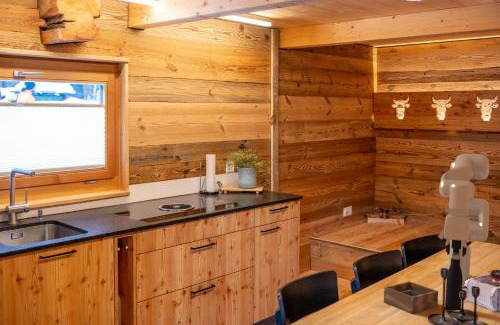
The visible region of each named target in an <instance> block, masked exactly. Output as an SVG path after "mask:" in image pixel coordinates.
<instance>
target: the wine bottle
mask: <svg viewBox="0 0 500 325" xmlns="http://www.w3.org/2000/svg"><path fill="white" fill-rule="evenodd" d="M451 248H453V254H452V258H451V265H450V267H449V266H448V269H447V270H448V271H447V273H448V276H447V275H446V279H447V280H446V283H445V302H444V310H445V309H446V311H447V310H461V311H462V300H461V299H460V297H459V292H460V290H462V291H463V288H462V282H463V276H462V270H461V267H460V254H459V249H461V241H458V240H452V245H451Z"/></svg>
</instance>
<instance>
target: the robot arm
mask: <svg viewBox="0 0 500 325" xmlns="http://www.w3.org/2000/svg"><path fill="white" fill-rule="evenodd" d="M449 166H450V167H449V168H450V169H449V170H448V171H446V172H445V173H443V174H442V176H441V177H440V182H439V188H438V191H439V194H440V195H441V196H442V197H444V198H449V200H448V208H445V210H444V212H445V213H447V214H446V216H445V219H444V220H445V221H444V227H443V230H442V231H441V232H440V233H439V234H438V235H437V237H438V238H439V239H440V240H441V241H442V243H443V244H444V245H445V253H446V255H447V256H449V262H448V268H449V267H450V265H451V258H452V254H453V248H451V245H452V240H458V241H461V249H459V254H460V267H461V270H462V276H463V282H462V289H463V288H464V284H465V281H466V280H468V279H470V278H476V277H478V278H479V276H478V275H474V276H473V274H470V273H471V272H470V270H471V258H472V257H471V256H472V255H471V253H472V249H471V246H470V245H472V244H473V243H474V242H485V241H487V239H488V236H489V224H490V204H489V202H488V201H487V200H486V199H484V198H475V197H474V195H475V194H476V187H475V185H474V183H473V182H472V181H471V180H486V179H487V178H488V176H489V174H490V161H489V158H488V156H486V155H485V154H482V153H479V154H477V153H461V154H459V155H457V156H456V158H455V160H454V161H452V162H451V163H450V165H449ZM470 219H476V220H470ZM446 280H447V278H446Z"/></svg>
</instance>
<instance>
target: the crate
mask: <svg viewBox="0 0 500 325" xmlns="http://www.w3.org/2000/svg"><path fill="white" fill-rule="evenodd" d="M383 303H384V304H386V305H388V306H391V307H394V308H396V309H399V310H400V311H402V312H403V311H404V312H405V313H409V314H411V315H414V314H417V313H421V312H424V311H427V310H428V309H429V310H432V309H436V308H438V306H439V305H438V303H439V290H435V289H433V288H430V287H427V286H425V285H421V284H418V283H416V282H412V281H410V280H409V281H403V282H400V283H397V284H393V285H387V286H384V287H383ZM435 307H436V308H435Z"/></svg>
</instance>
